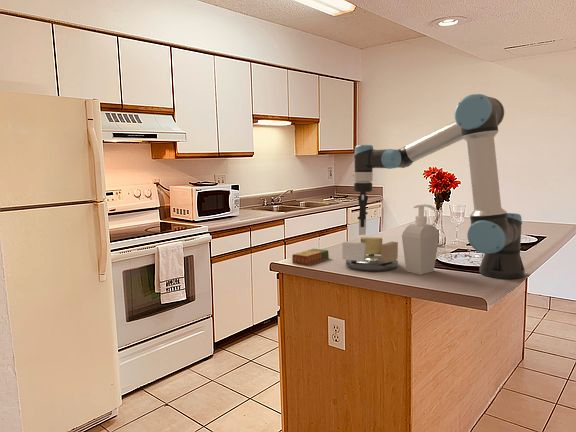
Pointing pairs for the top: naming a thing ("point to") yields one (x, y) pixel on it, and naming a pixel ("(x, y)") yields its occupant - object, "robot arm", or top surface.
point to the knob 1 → (354, 251)
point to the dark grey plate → (372, 264)
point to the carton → (310, 256)
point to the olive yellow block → (372, 245)
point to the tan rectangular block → (389, 252)
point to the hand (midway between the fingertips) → (362, 232)
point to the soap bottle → (420, 244)
